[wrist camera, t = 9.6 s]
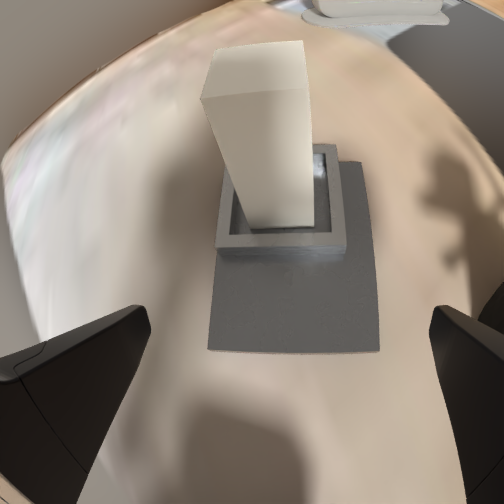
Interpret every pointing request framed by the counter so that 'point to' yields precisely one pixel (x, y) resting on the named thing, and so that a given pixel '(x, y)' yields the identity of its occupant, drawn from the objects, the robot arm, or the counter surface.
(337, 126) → the counter surface
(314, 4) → the wireless router
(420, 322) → the counter surface
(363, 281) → the bracket plate
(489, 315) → the toy
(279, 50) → the cream rectangular prism
